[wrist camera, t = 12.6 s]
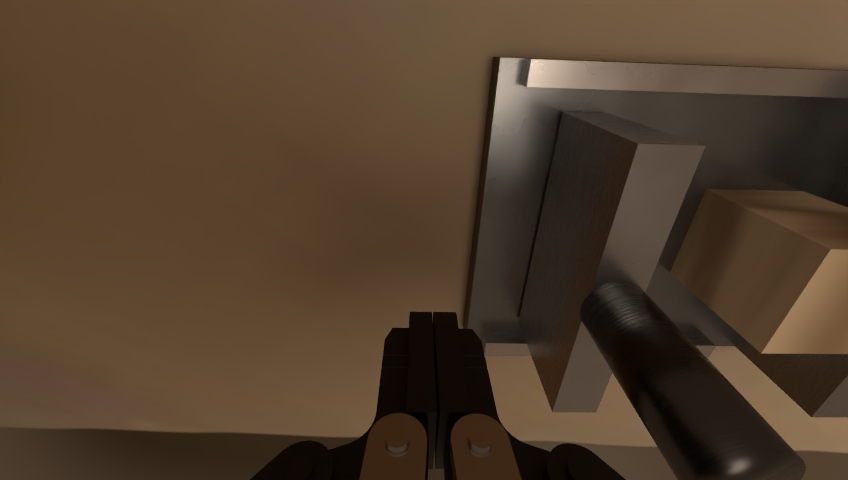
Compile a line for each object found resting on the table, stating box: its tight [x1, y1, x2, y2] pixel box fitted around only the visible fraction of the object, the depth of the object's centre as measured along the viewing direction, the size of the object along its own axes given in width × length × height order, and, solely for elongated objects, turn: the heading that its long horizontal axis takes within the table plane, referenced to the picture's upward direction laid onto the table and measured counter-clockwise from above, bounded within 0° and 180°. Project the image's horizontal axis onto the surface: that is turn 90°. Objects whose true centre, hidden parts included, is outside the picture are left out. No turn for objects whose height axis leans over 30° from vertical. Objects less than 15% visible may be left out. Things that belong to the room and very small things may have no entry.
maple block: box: [670, 189, 848, 354], centre depth 16 cm, size 5×5×6 cm
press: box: [463, 57, 848, 417], centre depth 17 cm, size 20×16×6 cm
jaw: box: [519, 112, 806, 480], centre depth 13 cm, size 2×12×12 cm, turn 178°
